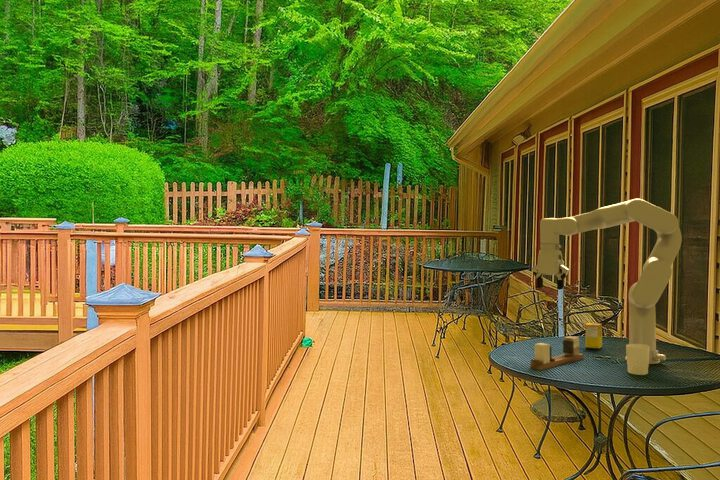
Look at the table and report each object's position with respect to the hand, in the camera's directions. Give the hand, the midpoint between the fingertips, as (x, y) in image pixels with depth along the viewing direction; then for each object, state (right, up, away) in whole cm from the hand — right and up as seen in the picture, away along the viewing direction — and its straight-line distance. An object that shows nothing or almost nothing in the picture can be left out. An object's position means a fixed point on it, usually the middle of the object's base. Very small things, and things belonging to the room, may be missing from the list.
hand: (550, 288), depth 247 cm
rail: (-1, -29, -14) cm, 32 cm away
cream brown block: (-10, -27, -20) cm, 35 cm away
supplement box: (+24, -28, +14) cm, 40 cm away
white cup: (+22, -29, -31) cm, 48 cm away
